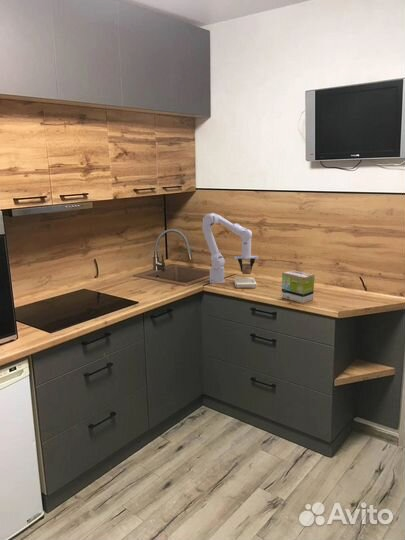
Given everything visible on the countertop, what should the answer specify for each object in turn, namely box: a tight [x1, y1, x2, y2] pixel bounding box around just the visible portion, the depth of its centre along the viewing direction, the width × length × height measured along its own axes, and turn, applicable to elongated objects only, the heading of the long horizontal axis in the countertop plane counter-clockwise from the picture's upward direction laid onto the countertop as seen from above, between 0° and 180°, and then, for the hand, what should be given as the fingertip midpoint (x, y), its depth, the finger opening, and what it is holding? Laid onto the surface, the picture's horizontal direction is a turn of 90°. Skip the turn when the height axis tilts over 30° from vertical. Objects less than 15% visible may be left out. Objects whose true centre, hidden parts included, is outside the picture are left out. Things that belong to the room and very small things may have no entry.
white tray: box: [234, 276, 258, 289], centre depth 285 cm, size 12×17×4 cm
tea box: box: [281, 269, 315, 304], centre depth 256 cm, size 15×10×15 cm
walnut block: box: [241, 263, 252, 275], centre depth 287 cm, size 5×8×5 cm, turn 0°
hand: (246, 270), depth 287 cm, fingers closed on walnut block, 5 cm apart
